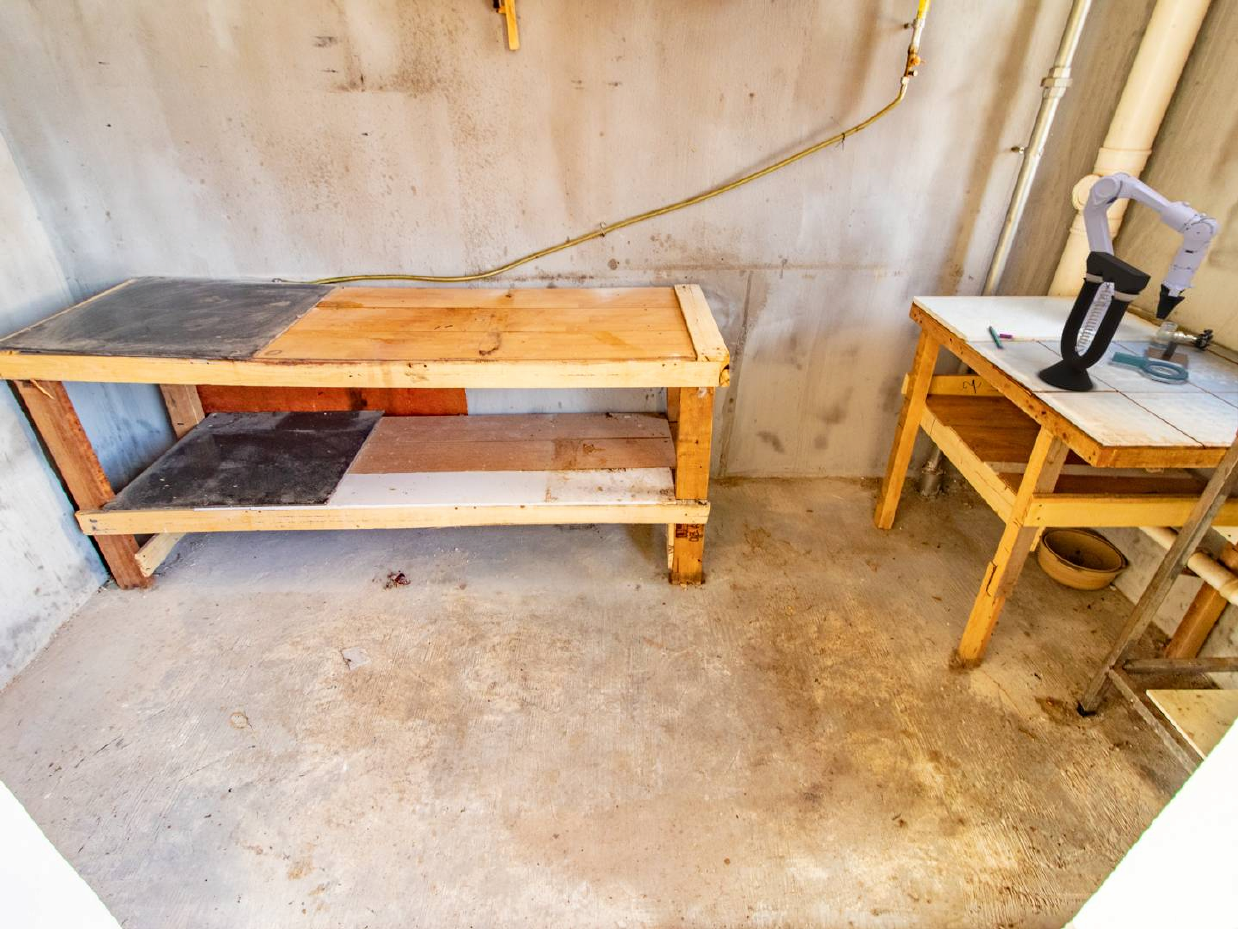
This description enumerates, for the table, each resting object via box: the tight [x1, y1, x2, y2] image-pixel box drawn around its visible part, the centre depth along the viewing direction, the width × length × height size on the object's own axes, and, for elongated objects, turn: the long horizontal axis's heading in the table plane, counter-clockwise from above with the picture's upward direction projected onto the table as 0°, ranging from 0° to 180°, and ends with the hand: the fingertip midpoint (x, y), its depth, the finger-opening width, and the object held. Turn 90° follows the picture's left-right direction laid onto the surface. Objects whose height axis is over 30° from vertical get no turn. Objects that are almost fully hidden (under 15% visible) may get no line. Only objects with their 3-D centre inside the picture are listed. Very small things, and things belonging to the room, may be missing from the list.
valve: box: [1153, 321, 1214, 352], centre depth 185 cm, size 7×7×12 cm
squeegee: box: [988, 325, 1013, 349], centre depth 189 cm, size 15×1×5 cm
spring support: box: [1038, 251, 1152, 391], centre depth 160 cm, size 21×12×30 cm, turn 172°
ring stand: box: [1146, 340, 1188, 367], centre depth 178 cm, size 9×9×6 cm
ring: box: [1111, 351, 1190, 385], centre depth 172 cm, size 17×10×3 cm, turn 53°
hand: (1160, 314), depth 182 cm, fingers open, 7 cm apart
